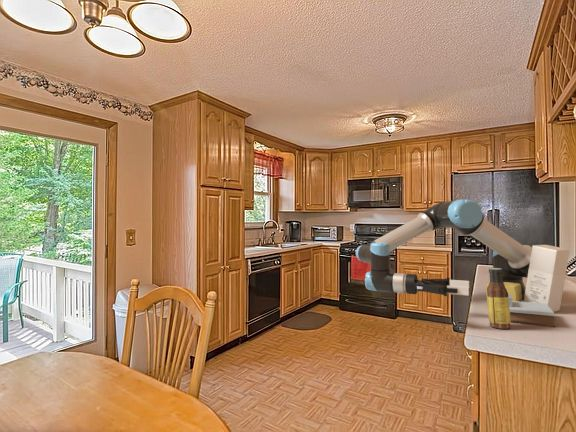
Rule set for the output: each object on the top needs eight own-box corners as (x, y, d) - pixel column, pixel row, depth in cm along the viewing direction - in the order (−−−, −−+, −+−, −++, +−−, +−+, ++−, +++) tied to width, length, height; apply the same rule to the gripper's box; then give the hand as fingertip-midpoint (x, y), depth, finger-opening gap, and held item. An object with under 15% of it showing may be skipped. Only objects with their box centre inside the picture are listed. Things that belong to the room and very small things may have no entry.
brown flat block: (505, 312, 130) (505, 303, 130) (547, 316, 124) (546, 307, 124) (508, 322, 118) (508, 312, 118) (554, 327, 112) (554, 316, 112)
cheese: (494, 303, 146) (493, 280, 146) (523, 307, 138) (522, 283, 138) (486, 307, 139) (485, 283, 140) (516, 312, 131) (515, 286, 132)
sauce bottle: (514, 327, 112) (512, 268, 112) (504, 331, 109) (502, 270, 109) (494, 323, 118) (492, 266, 118) (484, 326, 114) (482, 268, 115)
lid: (505, 302, 131) (504, 292, 131) (546, 306, 124) (545, 295, 124) (508, 311, 118) (508, 300, 118) (554, 316, 111) (554, 303, 112)
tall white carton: (559, 310, 131) (570, 249, 128) (546, 313, 128) (557, 250, 124) (535, 302, 139) (545, 244, 136) (522, 305, 136) (532, 245, 132)
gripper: (411, 287, 139) (469, 292, 128) (400, 299, 117) (468, 306, 107) (411, 269, 139) (468, 272, 129) (399, 278, 117) (468, 282, 107)
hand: (469, 287), depth 118 cm, fingers open, 13 cm apart
